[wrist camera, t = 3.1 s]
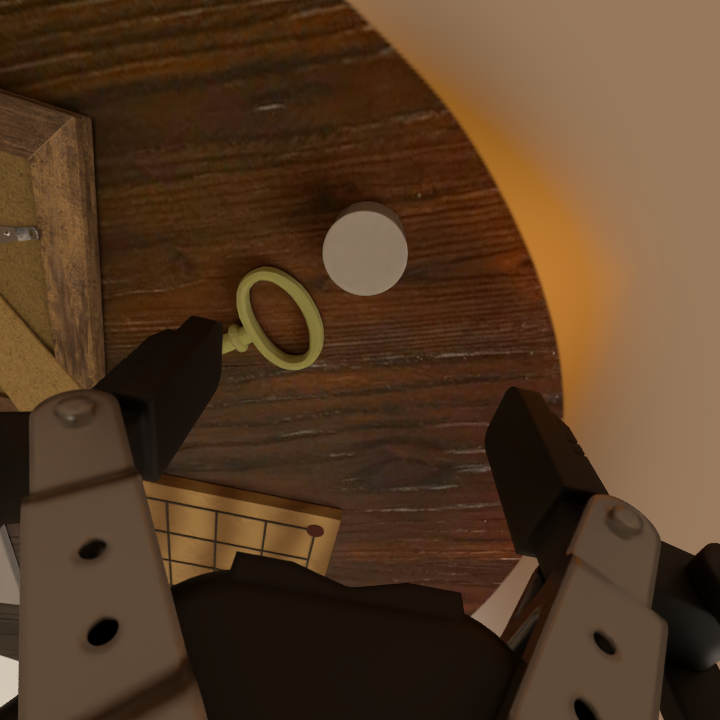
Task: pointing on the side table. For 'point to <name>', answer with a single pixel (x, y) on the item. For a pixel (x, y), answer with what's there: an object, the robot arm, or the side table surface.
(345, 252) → the white stone
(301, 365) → the key
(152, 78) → the side table surface
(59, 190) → the picture frame
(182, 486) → the game board
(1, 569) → the electronic device
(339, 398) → the side table surface
